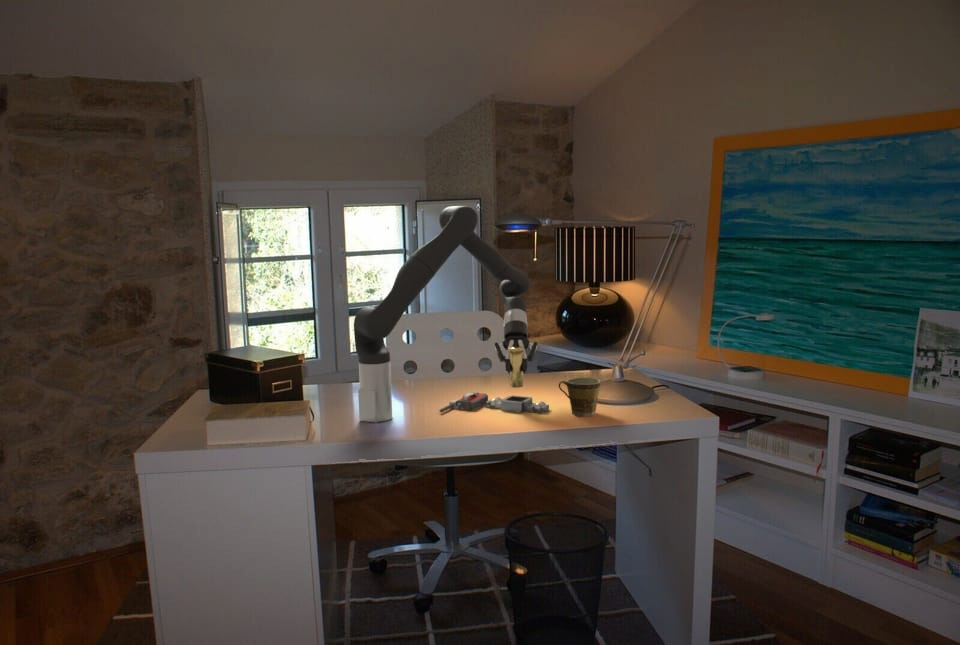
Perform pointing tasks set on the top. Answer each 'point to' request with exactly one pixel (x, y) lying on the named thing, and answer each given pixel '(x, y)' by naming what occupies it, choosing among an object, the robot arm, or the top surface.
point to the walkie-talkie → (468, 402)
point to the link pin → (516, 366)
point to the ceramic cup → (582, 395)
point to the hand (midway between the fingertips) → (516, 371)
